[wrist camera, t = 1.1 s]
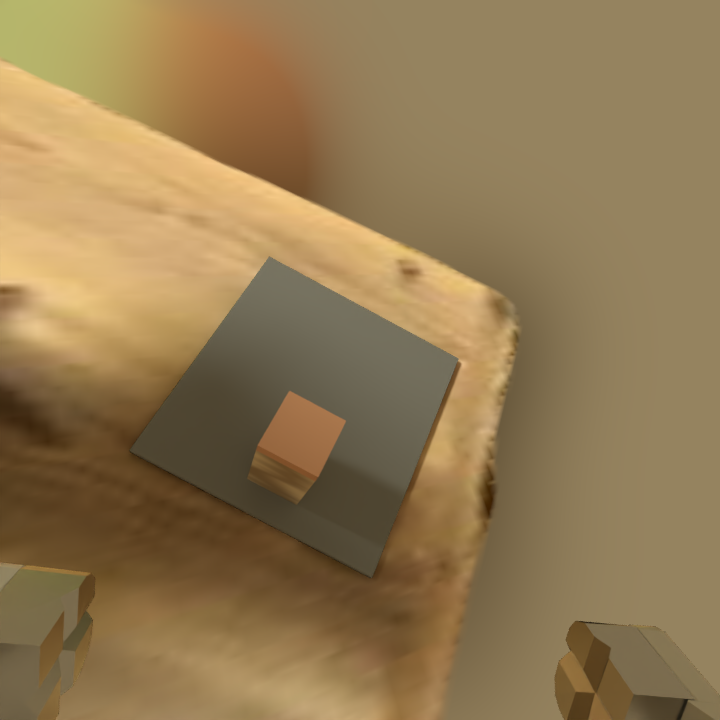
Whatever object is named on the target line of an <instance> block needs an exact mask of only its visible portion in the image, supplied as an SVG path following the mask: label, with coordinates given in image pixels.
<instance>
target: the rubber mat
mask: <svg viewBox="0 0 720 720" xmlns="http://www.w3.org/2000/svg"><path fill="white" fill-rule="evenodd" d="M457 361H458V358H456V357H455V356H453V355H451V354H449V353H447V352H445V351H443V350H442V349H440V348H438V347H436V346H434V345H432V344H430V343H429V342H427V341H425V340H423V339H421V338H419V337H417V336H416V335H414V334H412V333H410V332H408V331H406V330H404V329H403V328H401V327H399V326H397V325H395V324H393V323H392V322H390V321H388V320H386V319H384V318H382V317H380V316H379V315H377V314H375V313H373V312H371V311H369V310H367V309H366V308H364V307H362V306H360V305H358V304H356V303H354V302H353V301H351V300H349V299H347V298H345V297H343V296H341V295H340V294H338V293H336V292H334V291H332V290H330V289H329V288H327V287H325V286H323V285H321V284H319V283H317V282H316V281H314V280H312V279H310V278H308V277H306V276H304V275H303V274H301V273H299V272H297V271H295V270H293V269H291V268H290V267H288V266H286V265H284V264H282V263H280V262H278V261H277V260H275V259H273V258H271V257H269V258H268V259H267V261H266V262H265V263H264V265H263V266H262V268H261V269H260V270H259V272H258V273H257V274H256V276H255V277H254V279H253V280H252V281H251V283H250V284H249V286H248V287H247V288H246V290H245V291H244V292H243V294H242V295H241V297H240V298H239V299H238V301H237V302H236V303H235V305H234V306H233V308H232V309H231V310H230V312H229V313H228V315H227V316H226V317H225V319H224V320H223V321H222V323H221V324H220V326H219V327H218V328H217V330H216V331H215V333H214V334H213V335H212V337H211V338H210V339H209V341H208V342H207V344H206V345H205V346H204V348H203V349H202V350H201V352H200V353H199V355H198V356H197V357H196V359H195V360H194V362H193V363H192V364H191V366H190V367H189V368H188V370H187V371H186V373H185V374H184V375H183V377H182V378H181V380H180V381H179V382H178V384H177V385H176V386H175V388H174V389H173V391H172V392H171V393H170V395H169V396H168V398H167V399H166V400H165V402H164V403H163V404H162V406H161V407H160V409H159V410H158V411H157V413H156V414H155V415H154V417H153V418H152V420H151V421H150V422H149V424H148V425H147V427H146V428H145V429H144V431H143V432H142V433H141V435H140V436H139V438H138V439H137V440H136V442H135V443H134V445H133V446H132V447H131V449H130V452H131V453H133V454H135V455H137V456H138V457H140V458H142V459H144V460H146V461H148V462H150V463H152V464H154V465H156V466H158V467H159V468H161V469H163V470H165V471H167V472H169V473H171V474H173V475H175V476H177V477H179V478H180V479H182V480H184V481H186V482H188V483H190V484H192V485H194V486H196V487H198V488H199V489H201V490H203V491H205V492H207V493H209V494H211V495H213V496H215V497H217V498H219V499H220V500H222V501H224V502H226V503H228V504H230V505H232V506H234V507H236V508H238V509H240V510H241V511H243V512H245V513H247V514H249V515H251V516H253V517H255V518H257V519H259V520H260V521H262V522H264V523H266V524H268V525H270V526H272V527H274V528H276V529H278V530H280V531H281V532H283V533H285V534H287V535H289V536H291V537H293V538H295V539H297V540H299V541H301V542H302V543H304V544H306V545H308V546H310V547H312V548H314V549H316V550H318V551H320V552H321V553H323V554H325V555H327V556H329V557H331V558H333V559H335V560H337V561H339V562H341V563H342V564H344V565H346V566H348V567H350V568H352V569H354V570H356V571H358V572H360V573H362V574H363V575H365V576H367V577H369V578H372V577H373V574H374V572H375V569H376V567H377V564H378V562H379V559H380V557H381V554H382V552H383V549H384V546H385V544H386V541H387V539H388V536H389V534H390V531H391V529H392V526H393V524H394V521H395V519H396V516H397V513H398V511H399V508H400V506H401V503H402V501H403V498H404V496H405V493H406V491H407V488H408V486H409V483H410V480H411V478H412V475H413V473H414V470H415V468H416V465H417V463H418V460H419V458H420V455H421V453H422V450H423V447H424V445H425V442H426V440H427V437H428V435H429V432H430V430H431V427H432V425H433V422H434V420H435V417H436V415H437V412H438V409H439V407H440V404H441V402H442V399H443V397H444V394H445V392H446V389H447V387H448V384H449V382H450V379H451V376H452V374H453V371H454V369H455V366H456V364H457ZM289 391H291V392H293V393H295V394H297V395H299V396H300V397H302V398H304V399H306V400H308V401H310V402H312V403H314V404H315V405H317V406H319V407H321V408H323V409H325V410H327V411H329V412H330V413H332V414H334V415H336V416H338V417H340V418H342V419H344V420H345V421H346V422H345V424H344V426H343V428H342V430H341V433H340V435H339V437H338V439H337V441H336V443H335V445H334V447H333V449H332V451H331V453H330V455H329V457H328V459H327V461H326V463H325V465H324V467H323V469H322V471H321V473H320V475H319V477H318V478H317V480H316V481H315V482H314V483H313V485H312V486H311V487H310V489H309V490H308V491H307V492H306V494H305V495H304V496H303V498H302V499H301V500H300V501H299V503H298V504H297V505H296V504H294V503H292V502H290V501H288V500H286V499H284V498H283V497H281V496H279V495H277V494H275V493H273V492H271V491H269V490H267V489H265V488H264V487H262V486H260V485H258V484H256V483H254V482H252V481H250V480H248V479H247V477H248V474H249V471H250V468H251V465H252V461H253V458H254V455H255V452H256V449H257V446H258V444H259V442H260V440H261V439H262V437H263V435H264V433H265V432H266V430H267V428H268V427H269V425H270V423H271V421H272V420H273V418H274V416H275V415H276V413H277V411H278V409H279V408H280V406H281V404H282V403H283V401H284V399H285V397H286V396H287V394H288V392H289Z"/></svg>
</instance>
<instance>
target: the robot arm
mask: <svg viewBox="0 0 720 720" xmlns="http://www.w3.org/2000/svg"><path fill="white" fill-rule="evenodd" d="M94 594H95V577H94V575H93V574H92V573H89V572H80V571H72V570H64V569H56V568H47V567H39V566H31V565H27V566H25V565H20V564H11V563H1V562H0V720H56V718H57V716H58V714H59V703H60V695H62V694H63V693H65V692H66V691H67V690H69V689H70V688H72V687H73V686H74V684H75V682H76V680H77V678H78V676H79V674H80V672H81V670H82V667H83V664H84V661H85V658H86V655H87V652H88V649H89V644H90V639H91V634H92V623H93V620H92V618H91V617H90V615H89V614H88V613H87V611H86V609H87V608H88V606H89V604H90V603H91V601H92V599H93V597H94ZM566 642H567V644H568V646H569V649H570V652H569V653H568V654H566V655H565V656H564V657H563V658H562V659H561V660H559V663H558V666H557V670H556V674H555V696H556V699H557V703H558V707H559V709H560V712H561V714H562V716H563V718H564V720H720V695H719V694H718V693H717V692H716V691H715V689H714V688H713V687H712V686H711V685H710V684H709V682H708V681H707V680H706V679H705V678H704V677H703V676H702V674H701V673H700V672H699V671H698V670H697V669H696V668H695V666H694V665H693V664H692V663H691V662H690V660H689V659H688V658H687V657H686V656H685V655H684V653H683V652H682V651H681V650H680V649H679V648H678V647H677V646H676V644H675V643H674V642H673V641H672V640H671V638H670V637H669V636H668V635H667V634H666V633H665V632H664V631H662V630H661V629H659V628H657V627H655V626H641V625H628V626H627V625H616V624H605V623H594V622H583V621H575V622H574V623H573V624H572V625H571V627H570V628H569V631H568V634H567V637H566Z"/></svg>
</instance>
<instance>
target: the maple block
mask: <svg viewBox="0 0 720 720" xmlns="http://www.w3.org/2000/svg"><path fill="white" fill-rule="evenodd" d="M345 422H346V421H345V420H344V419H342V418H340V417H338V416H336V415H334V414H332V413H330V412H329V411H327V410H325V409H323V408H321V407H319V406H317V405H315V404H314V403H312V402H310V401H308V400H306V399H304V398H302V397H300V396H299V395H297V394H295V393H293V392H291V391H289V392H288V394H287V396H286V397H285V399H284V401H283V403H282V404H281V406H280V408H279V409H278V411H277V413H276V415H275V416H274V418H273V420H272V421H271V423H270V425H269V427H268V428H267V430H266V432H265V433H264V435H263V437H262V439H261V440H260V442H259V444H258V446H257V449H256V452H255V455H254V458H253V461H252V465H251V468H250V471H249V474H248V477H247V479H248V480H250V481H252V482H254V483H256V484H258V485H260V486H262V487H264V488H265V489H267V490H269V491H271V492H273V493H275V494H277V495H279V496H281V497H283V498H284V499H286V500H288V501H290V502H292V503H294V504H296V505H297V504H298V503H299V501H300V500H301V499H302V498H303V496H304V495H305V494H306V492H307V491H308V490H309V489H310V487H311V486H312V485H313V483H314V482H315V481H316V480H317V478H318V477H319V475H320V473H321V471H322V469H323V467H324V465H325V463H326V461H327V459H328V457H329V455H330V453H331V451H332V449H333V447H334V445H335V443H336V441H337V439H338V437H339V435H340V433H341V430H342V428H343V426H344V424H345Z"/></svg>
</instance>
